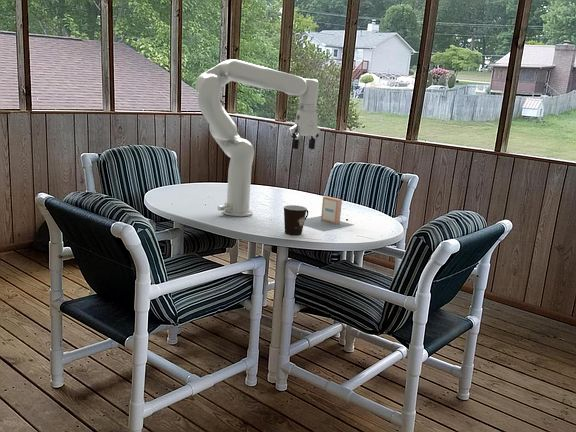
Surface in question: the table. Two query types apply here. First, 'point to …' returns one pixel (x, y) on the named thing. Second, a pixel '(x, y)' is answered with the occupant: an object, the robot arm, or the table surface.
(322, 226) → the mat
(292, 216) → the coffee mug
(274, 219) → the table surface
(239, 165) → the robot arm
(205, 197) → the table surface
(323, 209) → the wooden picture frame
